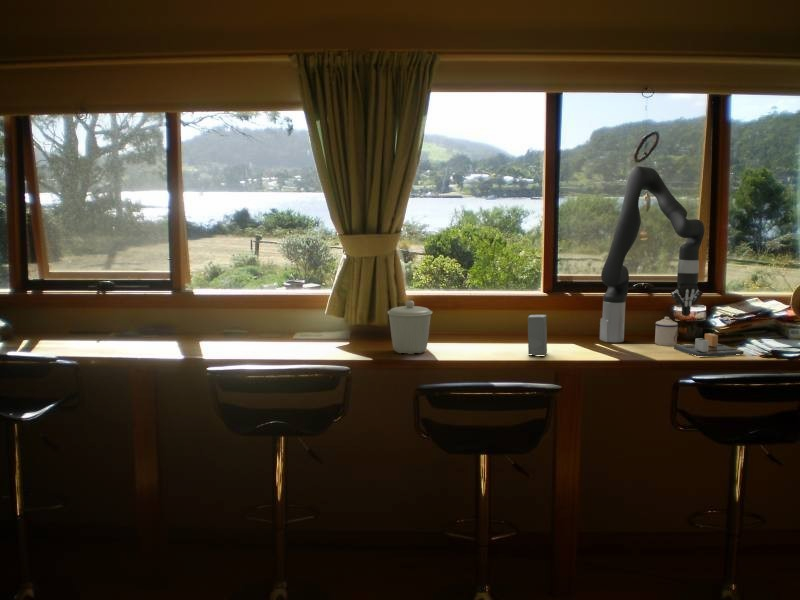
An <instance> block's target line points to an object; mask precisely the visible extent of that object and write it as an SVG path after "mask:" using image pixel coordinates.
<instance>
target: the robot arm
mask: <svg viewBox="0 0 800 600" xmlns="http://www.w3.org/2000/svg"><path fill="white" fill-rule="evenodd" d="M642 191H648V192H649V193H650V194H652V195H653V197H655V198H656V200H657V204H658V207H659V209H660V211H661V212H662V213H663V215H664V216H665V217H666V218H667V220H669V221H670V224H671V226H672V227H673V229H674V231H675V233H676V234H677V236H679V237H680V238H682V239H687V240H686V242H685V243H684V244H681V245H680V246H679V250H678V264H677V272H676V273H677V277H676V278H677V279H676V284H677V286H676V289H675V290H674V291H671V293H670V295H671V297H672V298H673V300H674V301H675V302H676V304H677V305H680V306H681V314H682V316H684V317H689V316H690V314H691V307H692V306H693V305H696V303H698V301H699V300H700V298H701V297H702V295H703V294H704V292H703V291H700V290H699V286H698V283H699V273H700V272H699V269H700V263H699V258H700V256H699V255H700V247H701V245H702V243H703V242H702V241H703V239H704V236H705V225H704V223H703V221H702V220H700V219H698V218H697V219H688V218H687V216H688V211H687V210H686V208H685V207H684V205H682V204H681V203H680V202H679V201H678V199H677V198H676V197H675V196H674V195H673V194H672V192H671V191H670V190H669V188H668V186H667V185H666V184H665V182H664V180H663V179H662V177H661V175H660V174H659V172H658V171H657V170H656V169H654V168H653V167H649V166H642V165H641V166H640V165H637V166H634V167H633V168H631V170H629V174H628V176H627V181H626V185H625V191H624V197H623V201H622V205H621V209H620V213H619V216H618V219H617V223H616V227H615V230H614V234H613V238H612V241H611V245H610V247H609V252H608V254H607V256H606V260H605V263H604V265H603V267H602V270H601V274H600V278H601V279H600V280H601V282H602V283H603V284H604V285H605V286H606V287H607V290H606V292H605V293H604V294H603V297H602V317H600V319H599V320H600V322H599V325H600V326H599V340H600V341H602V342H605V343H623V342H624V341H625V339H624V338H625V319H626V317H625V316H626V315H625V314H626V299H627V297H628V293H629V283H630V282H629V281H630V273H629V270H628V268H627V267H626V265H624V262H625V260H626V259H625V258H626V257H627V255H628V253H629V251H630V250H631V248H632V246H633V245H634V243H635V242H636V240H637V238H638V235H639V231H640V228H641V224H642V219H641V212H640V207H639V202H640V196H641V193H642Z"/></svg>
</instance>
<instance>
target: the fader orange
mask: <svg viewBox="0 0 800 600" xmlns="http://www.w3.org/2000/svg"><path fill="white" fill-rule="evenodd" d="M704 339H706V340H709V346H717V344H719V341H718V340H719V335H717V334H715V333H711V332H708V333H704Z"/></svg>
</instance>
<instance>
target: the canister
mask: <svg viewBox="0 0 800 600" xmlns="http://www.w3.org/2000/svg"><path fill="white" fill-rule="evenodd" d="M386 313H387V315H388V316H389V317H388V319H389V325H390V334H391V335H390V336H391V344H392V348H393V350H394V352H396V353H397V354H401V353H408V354H407V355H415V354H414V353H419V354H422V353H424V352H426V350H427V348H428V347H427V346H428V342H429V335H430V334H429V333H430V326H431V317H432V316H431V315H432V314H433V310H431V309H429V308H428V307H424V306H419V305H418V306H417V305H415V302H414V301H413V300H407V301H405V305H403V306H395V307H392V308H390V309H389V310H387V311H386Z"/></svg>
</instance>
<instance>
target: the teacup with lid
mask: <svg viewBox="0 0 800 600" xmlns="http://www.w3.org/2000/svg"><path fill="white" fill-rule="evenodd" d="M678 327H679V323H678V322H676V321H673V320H672V319H671V318H670V317H669V316H664V318H663V319H662V318H661V320H658V321H656V322H655V332H654V333H655V334H654V335H655V336H654V343H655V345H658V346H663V347H664V346H665V347H674V345H677V341H678V340H677V339H678Z"/></svg>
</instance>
